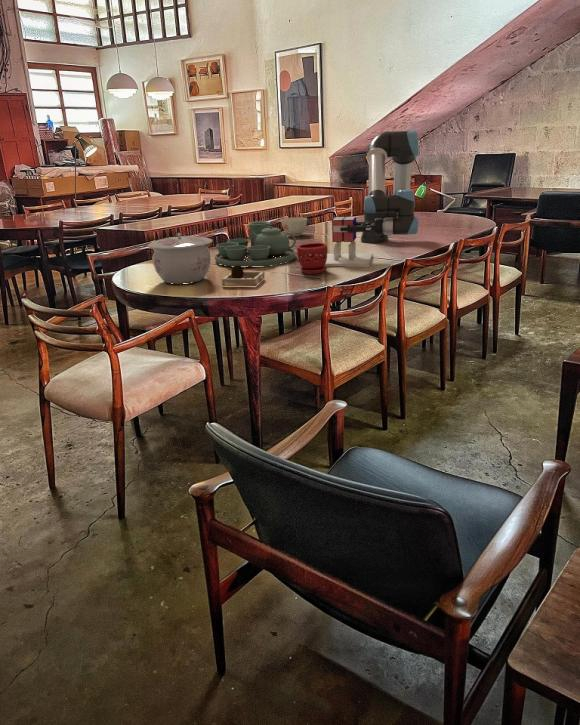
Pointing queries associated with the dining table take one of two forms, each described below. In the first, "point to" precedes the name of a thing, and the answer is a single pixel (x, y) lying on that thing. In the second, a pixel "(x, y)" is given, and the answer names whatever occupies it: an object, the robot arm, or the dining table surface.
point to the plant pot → (312, 257)
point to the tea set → (257, 247)
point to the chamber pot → (181, 258)
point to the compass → (237, 272)
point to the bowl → (294, 225)
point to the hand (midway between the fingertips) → (335, 227)
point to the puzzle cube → (343, 235)
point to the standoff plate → (348, 257)
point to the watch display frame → (255, 276)
